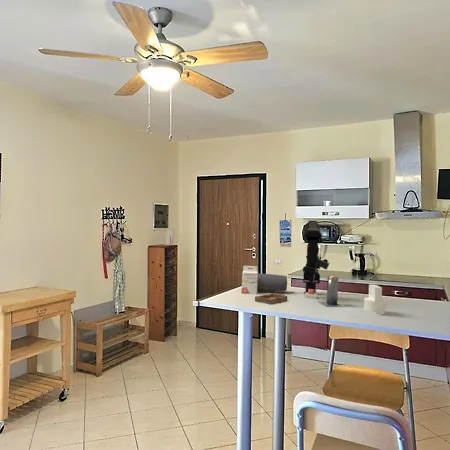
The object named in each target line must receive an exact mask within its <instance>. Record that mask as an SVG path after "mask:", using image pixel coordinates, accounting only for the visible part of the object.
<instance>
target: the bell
mask: <svg viewBox="0 0 450 450" xmlns="http://www.w3.org/2000/svg"><path fill="white" fill-rule="evenodd" d="M326 286H327V287H326V302H327V304H328V305H337V302H338V298H339V297H338V295H339V293H338V292H339V290H338V289H339V288H338V287H339V277H338V276H335V275H331V276H330V275H329V276H327V285H326Z"/></svg>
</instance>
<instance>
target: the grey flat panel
mask: <svg viewBox="0 0 450 450" xmlns="http://www.w3.org/2000/svg"><path fill="white" fill-rule="evenodd" d="M318 303H319V304H320V305H322V306H323V307H325V308H347V306H346V305H344V304H343V303H340V302H338V301H337V305H328V304H327V301H318Z"/></svg>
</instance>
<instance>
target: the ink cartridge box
mask: <svg viewBox="0 0 450 450" xmlns="http://www.w3.org/2000/svg"><path fill="white" fill-rule="evenodd" d="M242 270H243V271H242V272H241V274H242V276H241V294H247V295H248V294H249V295H252V294H253V295H256V294H258V291H257V282H258V274H259V272H258V266H257V265H243V266H242Z"/></svg>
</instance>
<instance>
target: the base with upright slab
mask: <svg viewBox="0 0 450 450" xmlns="http://www.w3.org/2000/svg"><path fill="white" fill-rule="evenodd" d="M363 301H364V302H363V305H364V306H363V309H364V311H366V312H372V313H376V315H377V314H383V313H385V314H386V299H384V298H383V287H381V286H379V285H377V284H368V296H367V297H365V298H364V300H363Z"/></svg>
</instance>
